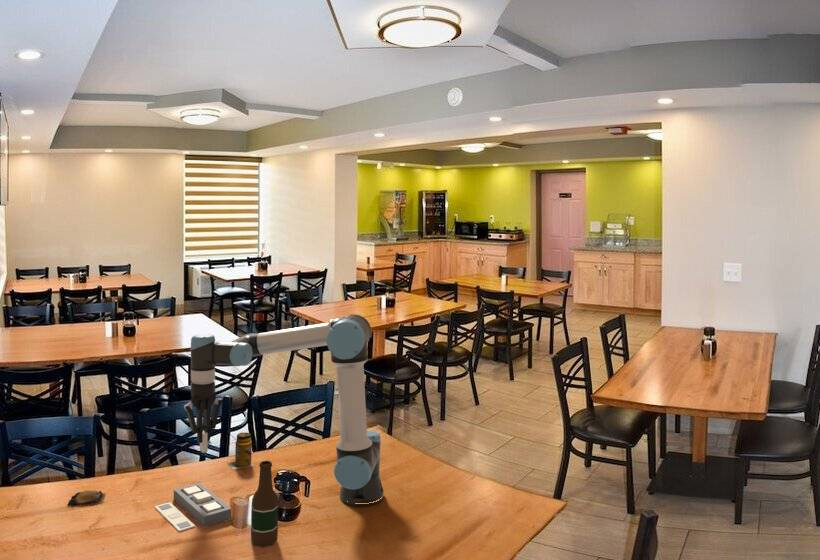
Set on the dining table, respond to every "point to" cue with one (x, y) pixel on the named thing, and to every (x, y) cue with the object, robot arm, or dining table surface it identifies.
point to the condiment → (242, 452)
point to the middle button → (201, 497)
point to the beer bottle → (264, 509)
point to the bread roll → (87, 498)
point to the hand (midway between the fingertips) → (203, 451)
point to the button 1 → (191, 490)
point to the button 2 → (211, 507)
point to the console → (196, 509)
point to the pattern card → (175, 516)
